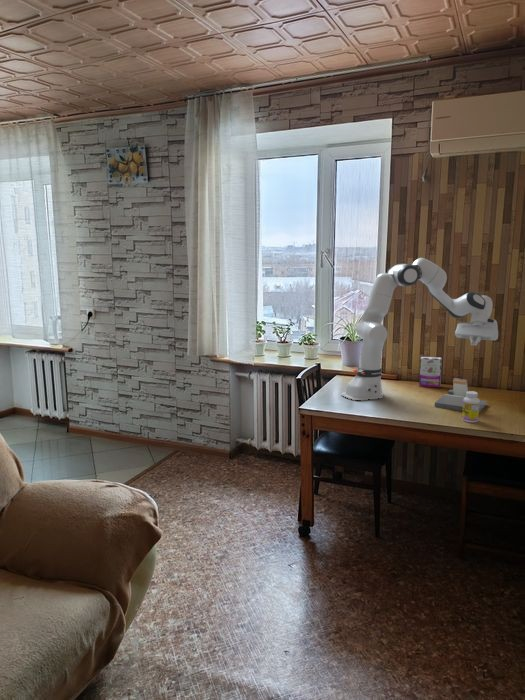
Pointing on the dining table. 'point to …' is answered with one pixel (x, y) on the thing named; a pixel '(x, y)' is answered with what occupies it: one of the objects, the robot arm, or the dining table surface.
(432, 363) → the candy bar box
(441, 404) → the breaker housing
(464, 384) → the breaker lever
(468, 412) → the supplement bottle
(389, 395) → the dining table surface
